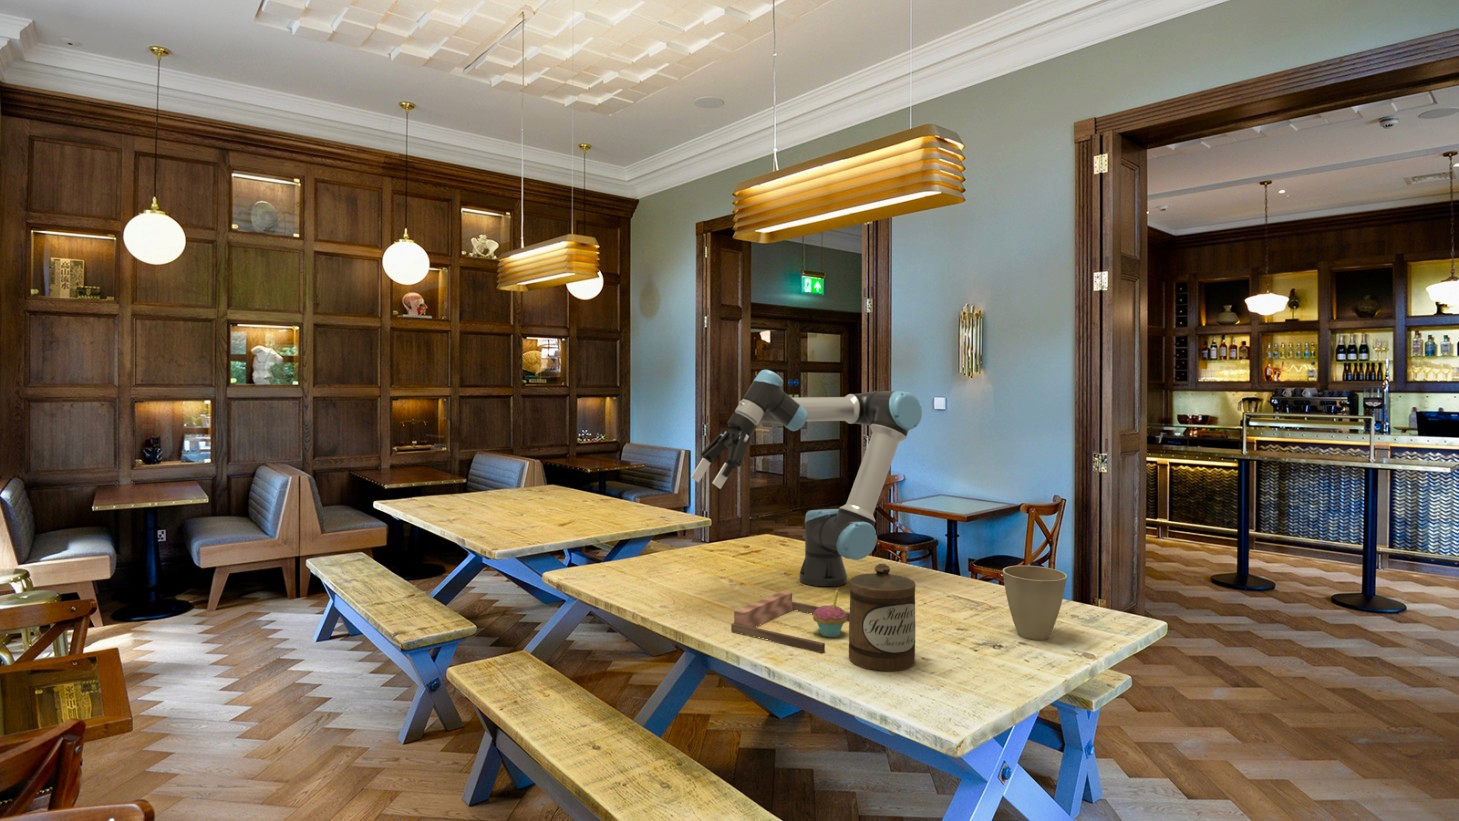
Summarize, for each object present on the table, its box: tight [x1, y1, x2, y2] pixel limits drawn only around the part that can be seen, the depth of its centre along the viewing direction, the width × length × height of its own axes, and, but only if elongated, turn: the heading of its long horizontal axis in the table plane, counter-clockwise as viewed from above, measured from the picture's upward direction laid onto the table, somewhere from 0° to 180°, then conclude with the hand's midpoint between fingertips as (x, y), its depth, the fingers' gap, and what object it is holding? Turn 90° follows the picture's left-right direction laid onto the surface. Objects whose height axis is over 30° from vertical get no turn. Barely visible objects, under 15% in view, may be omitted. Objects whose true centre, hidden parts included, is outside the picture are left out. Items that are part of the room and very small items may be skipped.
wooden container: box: [848, 563, 916, 672], centre depth 171 cm, size 15×15×22 cm
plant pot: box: [1002, 565, 1068, 641], centre depth 189 cm, size 15×15×16 cm
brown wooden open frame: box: [730, 590, 850, 654], centre depth 194 cm, size 26×26×5 cm
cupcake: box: [812, 587, 848, 638], centre depth 189 cm, size 9×8×12 cm
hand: (705, 482), depth 207 cm, fingers open, 13 cm apart
